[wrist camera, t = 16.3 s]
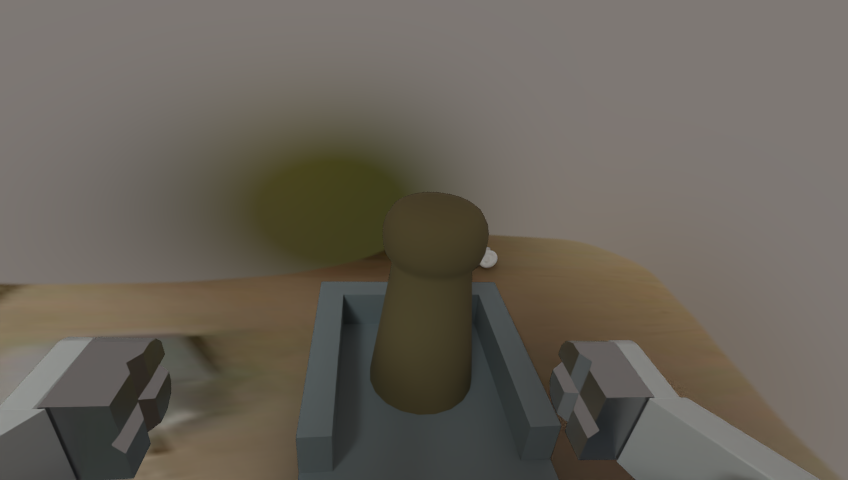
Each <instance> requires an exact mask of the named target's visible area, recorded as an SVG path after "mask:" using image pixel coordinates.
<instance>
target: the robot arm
mask: <svg viewBox="0 0 848 480" xmlns="http://www.w3.org/2000/svg"><path fill="white" fill-rule="evenodd" d="M164 355H165V353H164V349H163V346H162V342H161V341H160V340H157V339H150V338H114V337H98V338H91V337H67V338H65V339H62V340H60V341H59V342H58V343H57V344H56V345H55V346H54V347H53V348H52V349H51V350H50V351H49V352H48V354H47V355H46V356H45V357H44V358H43V359H42V360H41V361H40V362H39V363H38V365H37V366H36V367H35V368H34V369H33V370H32V371H31V372H30V373H29V374H28V376H27V377H26V378H25V379H24V380H23V381H22V382H21V383H20V384H19V385H18V387H17V388H16V389H15V390H14V391H13V392H12V393H11V394H10V395H9V396H8V398H7V399H6V400H5V401H4V402H3V403H2V404H1V405H0V480H117V479H132V478H134V477H135V475H136V473H137V471H138V469H139V466H140V464H141V462H142V460H143V458H144V456H145V454H146V452H147V450H148V448H149V446H150V444H151V443H150V439H149V436H148V432H149V431H150V430H152V429H153V428H154V427H155V426H157V425H158V424H159V423H161V421H162V419H163V417H164V415H165V413H166V411H167V408H168V404H169V399H170V395H171V379H170V374H169V371H167V370H166V369H165V368H164V367H163V366H161V365H160V362H161V360H162V359H163V357H164ZM558 355H559V357H560V359H561V360H562V362H561V363H560V364H559V365H558V366H557V367H555V368H554V369H553V371H552V375H551V378H550V396H551V400H552V404H553V406H554V408H555V411H556V413H557V414H558V415H559V416H561V417H562V418H563V419H564V420H566V421H567V422H568V423H567V426H566V430H565V432H566V434H567V437H568V439H569V441H570V443H571V445H572V447H573V449H574V452H575V454H576V456H577V458H578V460H617V462H618V463H619V464H620V465H621V466H622V467H623V468H624V469H625V470H626V471H627V472H628V473H629V474H630V475H631V476H632V477H633V478H634V479H635V480H820V479H818V478H817V477H815V476H814V475H812V474H810V473H809V472H807V471H805V470H804V469H802V468H801V467H799V466H797V465H796V464H794V463H792V462H791V461H789V460H787V459H786V458H784V457H783V456H781V455H779V454H778V453H776V452H774V451H773V450H771V449H770V448H768V447H766V446H765V445H763V444H761V443H760V442H758V441H757V440H755V439H753V438H752V437H750V436H748V435H747V434H745V433H743V432H742V431H740V430H739V429H737V428H735V427H734V426H732V425H730V424H729V423H727V422H726V421H724V420H722V419H721V418H719V417H717V416H716V415H714V414H713V413H711V412H709V411H708V410H706V409H704V408H703V407H701V406H700V405H698V404H696V403H695V402H693V401H691V400H690V399H688V398H680V397H679V396H678V395H677V393H676V392H675V391H674V390H673V388H672V387H671V386H670V384H669V383H668V382H667V381H666V379H665V378H664V377H663V376H662V374H661V373H660V372H659V371H658V369H657V368H656V367H655V366H654V364H653V363H652V362H651V361H650V359H649V358H648V357H647V356H646V354H645V353H644V352H643V351H642V349H641V348H640V347H639V346H638V344H636V343H635V342H633V341H631V340H609V341H565V343H564V344H563V345H562V346H561V349H560V351H559V354H558Z"/></svg>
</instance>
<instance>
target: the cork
mask: <svg viewBox="0 0 848 480" xmlns="http://www.w3.org/2000/svg"><path fill="white" fill-rule="evenodd" d="M488 236H489V232H488V224H487V222H486V220H485V217H484V215H483V213H482V212H481V210H480V209H479V208H478V207H477V206H475V205H474V204H473V203H471V202H470V201H468V200H466V199H464V198H461V197H459V196H455V195H451V194H445V193H439V192H422V193H415V194H411V195H408V196H405V197H403V198H401V199H400V200H398V201H396V202H395V203H394V205H393V206H392V208H391V209H390V210H389V212H388V213H387V215H386V218H385V221H384V224H383V244H384V248H385V252H386V255H387V256H388V257H389V259H390V260H391V262H392V265H391V270H390V274H389V279H388V284H387V289H386V294H385V298H384V303H383V308H382V313H381V318H380V323H379V327H378V332H377V337H376V342H375V347H374V351H373V356H372V361H371V366H370V381H371V383H372V386H373V388H374V390H375V392H376V393H377V394H378V395H379V396H380V397H381V398H382V400H383V401H384V402H385V403H387V404H389V405H391V406H392V407H394V408H396V409H398V410H400V411H403V412H408V413H412V414H417V415H425V414H437V413H440V412H443V411H447V410H450V409H452V408H453V407H455V406H456V405H457V404H459V403H460V402H461V401H463V399H464V398H465V396H466V395H467V393H468V391H469V390H470V384H471V367H472V271H473V270H474V269H475V268H476V267H477V266H478V265H479V264H480V263H481V261H482V259H483V257H484V255H485V253H486V248H487V243H488Z"/></svg>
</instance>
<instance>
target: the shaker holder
mask: <svg viewBox="0 0 848 480" xmlns="http://www.w3.org/2000/svg"><path fill="white" fill-rule="evenodd" d="M387 284H388V282H322V283H321V289H320V295H319V301H318V307H317V313H316V319H315V325H314V331H313V337H312V343H311V349H310V355H309V361H308V367H307V373H306V379H305V385H304V392H303V398H302V404H301V410H300V416H299V422H298V428H297V434H296V446H297V457H298V469H299V476H298V480H559V479H558V477H557V474H556V472H555V469H554V467H553V464H552V462H551V460H550V458H551V455H552V452H553V449H554V446H555V443H556V440H557V437H558V434H559V431H560V428H561V424H560V421H559V419H558V417H557V415H556V413H555V411H554V409H553V406H552V404H551V402H550V400H549V398H548V396H547V394H546V391H545V389H544V387H543V385H542V383H541V381H540V379H539V377H538V374H537V372H536V370H535V368H534V366H533V364H532V362H531V359H530V357H529V355H528V353H527V351H526V349H525V347H524V344H523V342H522V340H521V338H520V336H519V334H518V332H517V329H516V327H515V325H514V323H513V321H512V319H511V317H510V315H509V312H508V310H507V308H506V306H505V304H504V302H503V300H502V297H501V295H500V293H499V291H498V289H497V287H496V285H495V282H472V367H471V384H470V390H469V391H468V393H467V395H466V396H465V398H464V399H463V401H461V402H460V403H459V404H457V405H456V406H455V407H453V408H452V409H450V410H447V411H443V412H440V413H437V414H425V415H417V414H412V413H408V412H403V411H400V410H398V409H396V408H394V407H392V406H391V405H389V404H387V403H385V402H384V401H383V400H382V398H381V397H380V396H379V395H378V394H377V393H376V392H375V390H374V388H373V386H372V383H371V381H370V366H371V361H372V356H373V351H374V347H375V342H376V337H377V332H378V327H379V323H380V318H381V313H382V308H383V303H384V298H385V294H386V289H387Z"/></svg>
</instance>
